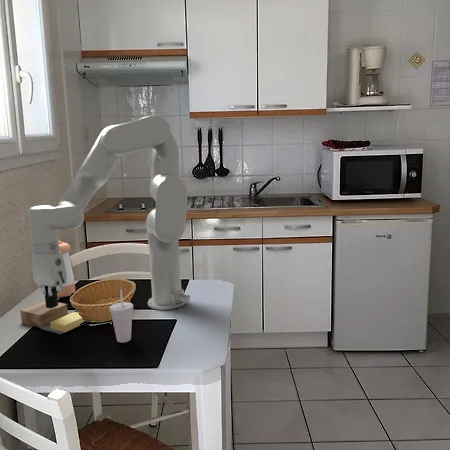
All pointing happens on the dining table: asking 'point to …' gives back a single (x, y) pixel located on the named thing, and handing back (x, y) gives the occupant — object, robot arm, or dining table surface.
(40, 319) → the block
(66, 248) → the pepper shaker
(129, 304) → the smoothie
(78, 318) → the pale yellow block
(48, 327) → the mat
